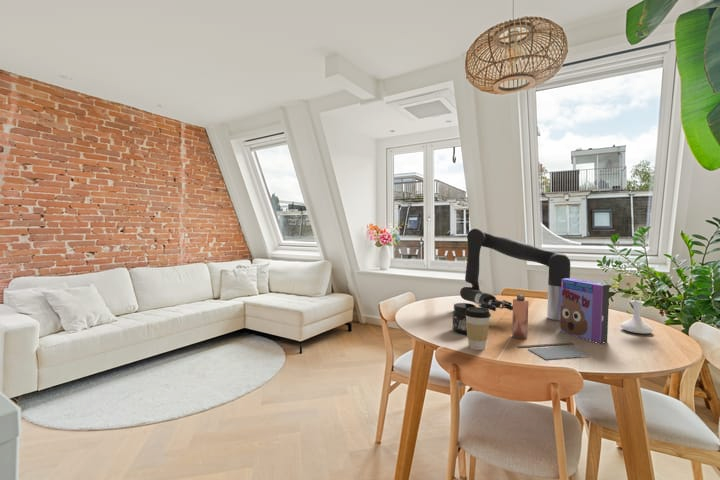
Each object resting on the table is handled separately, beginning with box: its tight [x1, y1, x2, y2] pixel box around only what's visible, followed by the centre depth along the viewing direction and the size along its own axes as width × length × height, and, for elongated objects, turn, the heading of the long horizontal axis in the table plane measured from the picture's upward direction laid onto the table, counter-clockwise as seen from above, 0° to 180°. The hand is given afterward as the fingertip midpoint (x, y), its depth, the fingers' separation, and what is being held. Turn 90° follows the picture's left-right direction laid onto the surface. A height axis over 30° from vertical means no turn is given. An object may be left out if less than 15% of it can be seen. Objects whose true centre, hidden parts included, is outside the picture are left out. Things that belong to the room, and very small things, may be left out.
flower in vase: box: [617, 275, 654, 335], centre depth 156 cm, size 13×11×25 cm
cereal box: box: [559, 278, 610, 344], centre depth 149 cm, size 17×5×24 cm, turn 23°
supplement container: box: [452, 302, 477, 336], centre depth 156 cm, size 10×10×12 cm
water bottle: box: [511, 294, 529, 340], centre depth 149 cm, size 6×6×18 cm
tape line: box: [516, 342, 574, 349], centre depth 139 cm, size 24×1×1 cm, turn 99°
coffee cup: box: [464, 306, 492, 351], centre depth 137 cm, size 10×10×15 cm
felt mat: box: [527, 345, 590, 361], centre depth 131 cm, size 18×10×1 cm, turn 99°
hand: (503, 308), depth 161 cm, fingers open, 8 cm apart
